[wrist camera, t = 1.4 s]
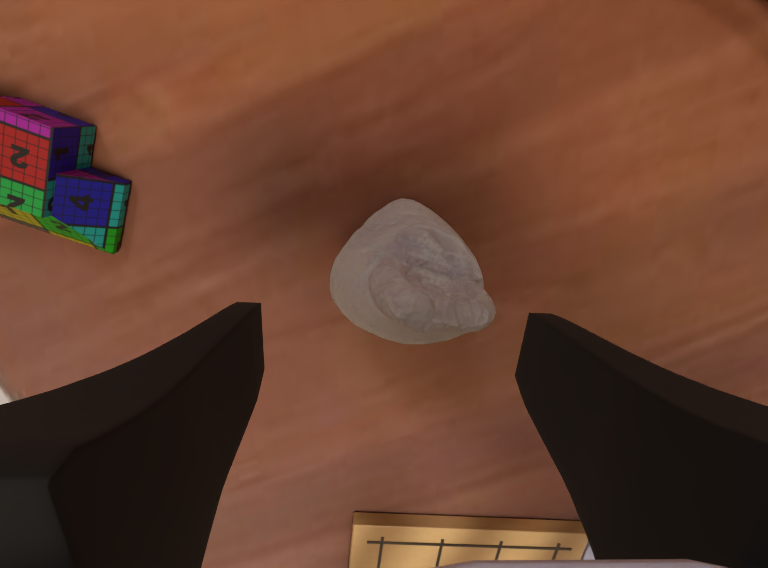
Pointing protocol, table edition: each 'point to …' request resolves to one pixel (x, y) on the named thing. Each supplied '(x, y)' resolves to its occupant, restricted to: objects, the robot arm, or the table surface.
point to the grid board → (458, 540)
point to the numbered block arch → (57, 177)
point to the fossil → (410, 278)
